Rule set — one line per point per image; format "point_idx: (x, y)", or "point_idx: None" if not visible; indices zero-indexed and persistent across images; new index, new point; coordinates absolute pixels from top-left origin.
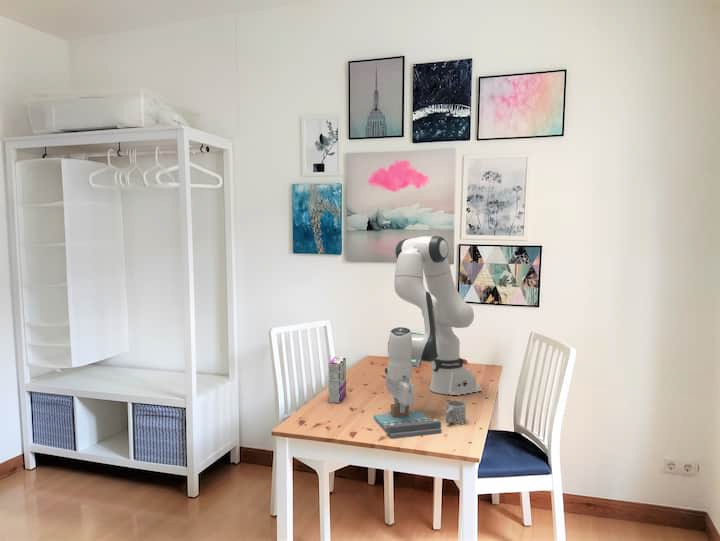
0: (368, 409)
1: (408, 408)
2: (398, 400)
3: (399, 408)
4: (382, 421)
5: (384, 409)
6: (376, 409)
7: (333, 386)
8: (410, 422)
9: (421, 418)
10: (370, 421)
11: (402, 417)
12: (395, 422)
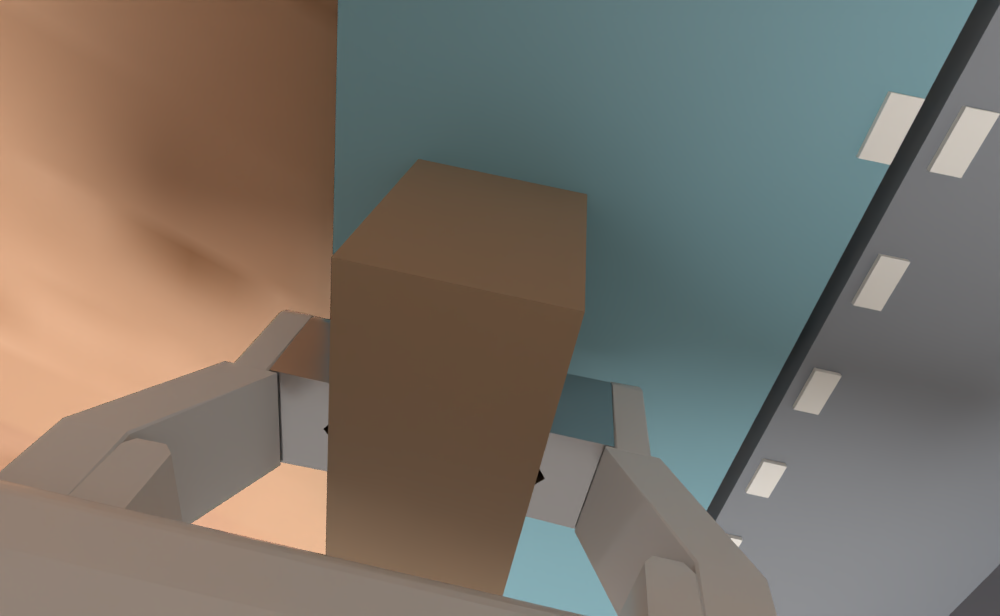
0: (11, 420)
1: (582, 279)
2: (205, 426)
3: (565, 508)
4: (582, 597)
5: (10, 254)
6: (10, 345)
7: None
8: (873, 340)
9: (886, 5)
10: None
11: (585, 329)
12: (704, 505)
